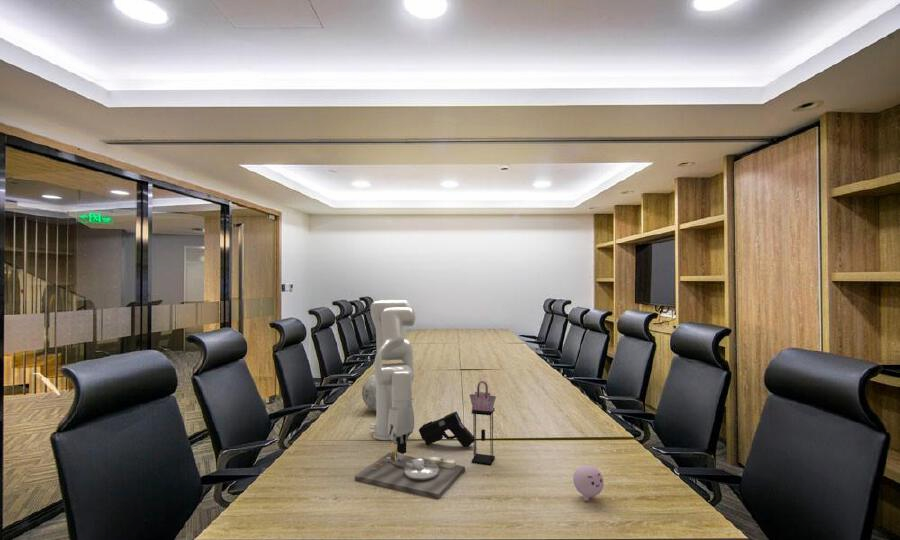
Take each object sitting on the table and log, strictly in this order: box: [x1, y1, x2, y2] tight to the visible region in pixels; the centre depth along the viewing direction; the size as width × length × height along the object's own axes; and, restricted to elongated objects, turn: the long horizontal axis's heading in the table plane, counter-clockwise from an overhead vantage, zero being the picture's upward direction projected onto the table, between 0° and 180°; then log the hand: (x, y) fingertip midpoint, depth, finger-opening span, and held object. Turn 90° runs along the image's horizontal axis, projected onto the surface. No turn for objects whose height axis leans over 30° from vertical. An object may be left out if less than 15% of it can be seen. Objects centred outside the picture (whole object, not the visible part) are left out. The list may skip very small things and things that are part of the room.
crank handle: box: [386, 441, 439, 481], centre depth 153 cm, size 23×12×7 cm, turn 53°
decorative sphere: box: [361, 373, 376, 412], centre depth 228 cm, size 20×20×20 cm
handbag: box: [469, 380, 497, 466], centre depth 164 cm, size 10×8×30 cm
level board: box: [354, 451, 466, 500], centre depth 152 cm, size 32×22×4 cm
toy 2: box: [572, 464, 605, 502], centre depth 135 cm, size 9×9×10 cm
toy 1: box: [418, 411, 474, 449], centre depth 179 cm, size 5×20×15 cm, turn 78°
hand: (401, 452), depth 161 cm, fingers closed
